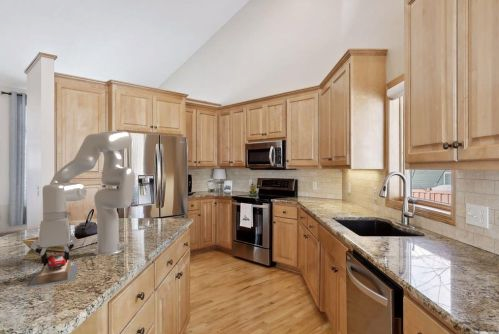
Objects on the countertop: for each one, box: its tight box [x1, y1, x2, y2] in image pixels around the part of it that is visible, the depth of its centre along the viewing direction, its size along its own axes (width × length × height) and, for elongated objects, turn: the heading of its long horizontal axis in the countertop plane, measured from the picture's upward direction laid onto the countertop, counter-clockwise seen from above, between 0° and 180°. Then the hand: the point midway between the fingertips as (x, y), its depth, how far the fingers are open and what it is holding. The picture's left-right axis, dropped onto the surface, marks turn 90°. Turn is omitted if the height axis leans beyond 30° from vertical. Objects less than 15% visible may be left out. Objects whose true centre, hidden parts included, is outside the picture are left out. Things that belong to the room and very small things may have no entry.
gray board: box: [27, 264, 79, 289], centre depth 110 cm, size 14×19×1 cm
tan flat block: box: [37, 259, 72, 285], centre depth 110 cm, size 9×15×3 cm, turn 28°
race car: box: [47, 253, 66, 269], centre depth 110 cm, size 13×5×4 cm, turn 41°
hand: (55, 262), depth 110 cm, fingers closed on race car, 6 cm apart
